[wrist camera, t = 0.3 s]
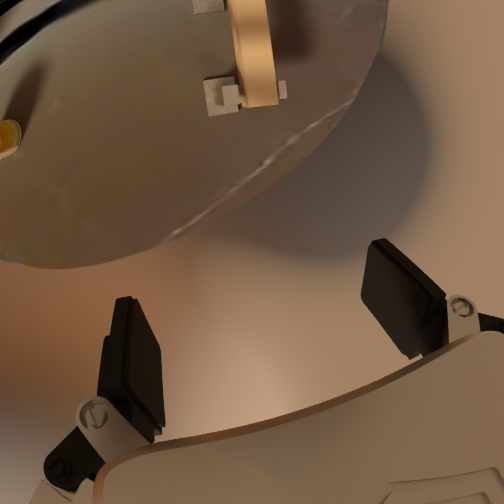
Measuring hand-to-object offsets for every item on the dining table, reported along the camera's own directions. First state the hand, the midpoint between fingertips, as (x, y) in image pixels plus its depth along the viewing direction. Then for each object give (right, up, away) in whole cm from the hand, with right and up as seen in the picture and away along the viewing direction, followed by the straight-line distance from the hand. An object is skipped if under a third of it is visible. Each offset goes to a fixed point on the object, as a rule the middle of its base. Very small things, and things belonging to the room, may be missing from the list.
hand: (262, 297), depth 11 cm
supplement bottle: (-35, +19, +16) cm, 43 cm away
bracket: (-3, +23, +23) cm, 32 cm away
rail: (-1, +25, +12) cm, 28 cm away
